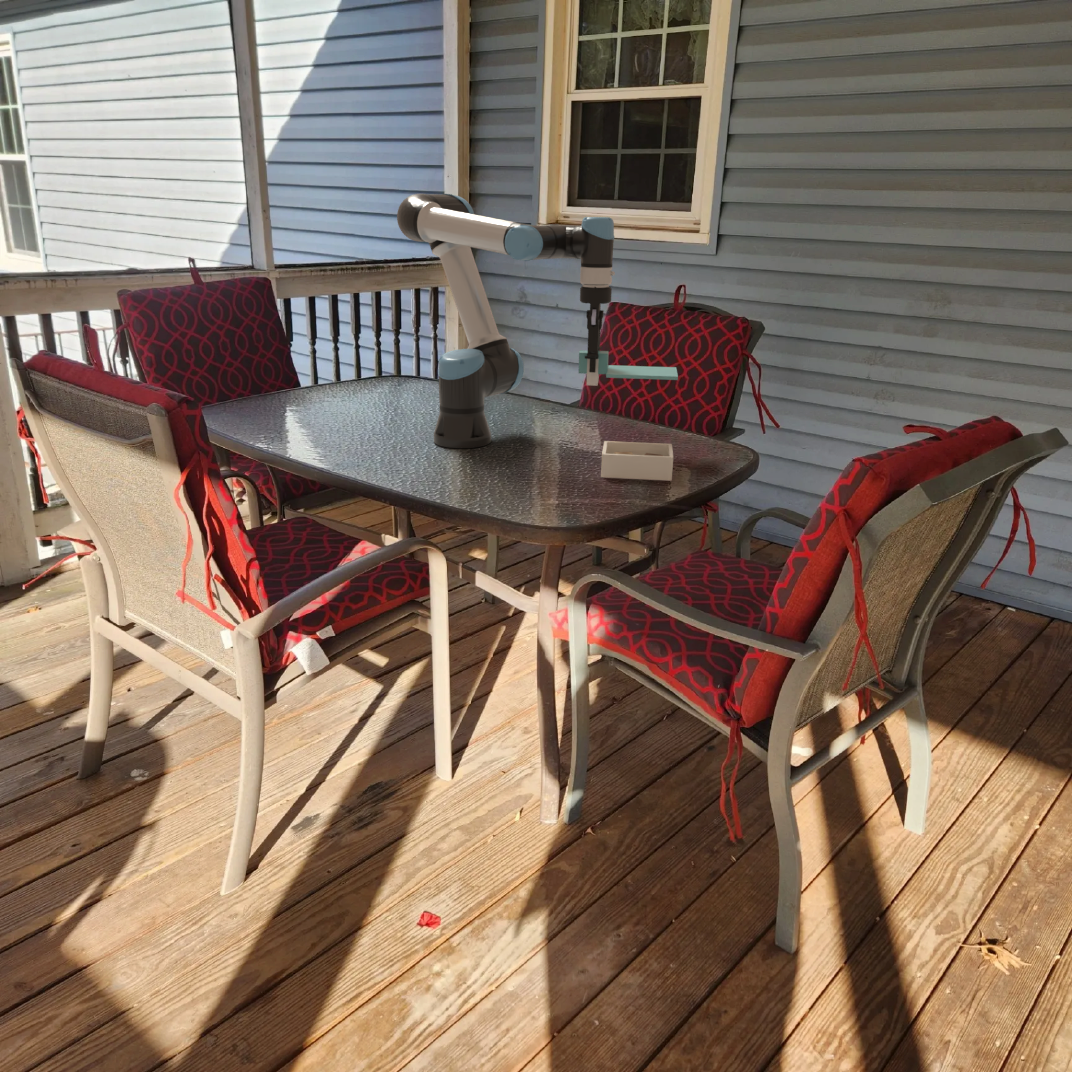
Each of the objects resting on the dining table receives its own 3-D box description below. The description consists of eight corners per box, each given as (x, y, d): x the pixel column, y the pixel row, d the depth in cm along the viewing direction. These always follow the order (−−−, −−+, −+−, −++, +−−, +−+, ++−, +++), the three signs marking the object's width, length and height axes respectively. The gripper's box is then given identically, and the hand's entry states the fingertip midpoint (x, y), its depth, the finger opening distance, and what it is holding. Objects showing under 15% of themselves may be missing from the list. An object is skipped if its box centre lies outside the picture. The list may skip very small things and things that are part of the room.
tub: (600, 479, 195) (601, 454, 193) (603, 465, 206) (604, 441, 204) (671, 483, 193) (673, 457, 191) (670, 468, 204) (671, 443, 202)
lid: (577, 376, 206) (577, 355, 204) (581, 367, 218) (581, 347, 216) (677, 379, 203) (679, 358, 201) (676, 370, 215) (677, 350, 213)
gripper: (610, 289, 196) (606, 390, 204) (613, 283, 211) (609, 377, 220) (577, 288, 196) (574, 389, 205) (582, 282, 212) (580, 376, 221)
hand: (592, 383), depth 212 cm, fingers closed on lid, 4 cm apart
